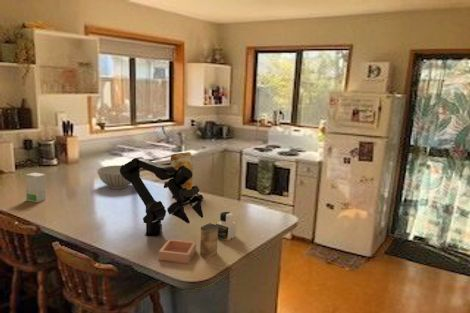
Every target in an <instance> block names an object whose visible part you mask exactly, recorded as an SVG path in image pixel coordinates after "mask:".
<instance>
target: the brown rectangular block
mask: <svg viewBox="0 0 470 313" xmlns="http://www.w3.org/2000/svg"><path fill="white" fill-rule="evenodd" d="M218 239H219V238H218V225H216V223H211V222H209V223H207V224H205V225H202V226H200V246H199V248H200V249H199V255H200V256H202V257H205V258H208V259H210V258H211V257H212V256H215V255H216V254H218Z"/></svg>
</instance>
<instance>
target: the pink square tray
mask: <svg viewBox="0 0 470 313" xmlns="http://www.w3.org/2000/svg"><path fill="white" fill-rule="evenodd" d="M196 251H197V242H195V241H188V240H180V239H179V240H178V239H171V238H169V239H168V240H166V241H165V243H164V244H163V245H162V247H161V248H160V249H159V250H158V261H160V262H168V263H175V264H183V265H189V264H190V262H191V260H192V259H193V257H194V255H195V254H196Z"/></svg>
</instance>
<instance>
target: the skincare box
mask: <svg viewBox="0 0 470 313" xmlns="http://www.w3.org/2000/svg"><path fill="white" fill-rule="evenodd" d="M25 189H26V193H25V194H26V195H25V199H26V201H29V202H33V203H40V202H42V201H46V174H45V173H41V172H40V173H39V172H31V173H26V174H25Z"/></svg>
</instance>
